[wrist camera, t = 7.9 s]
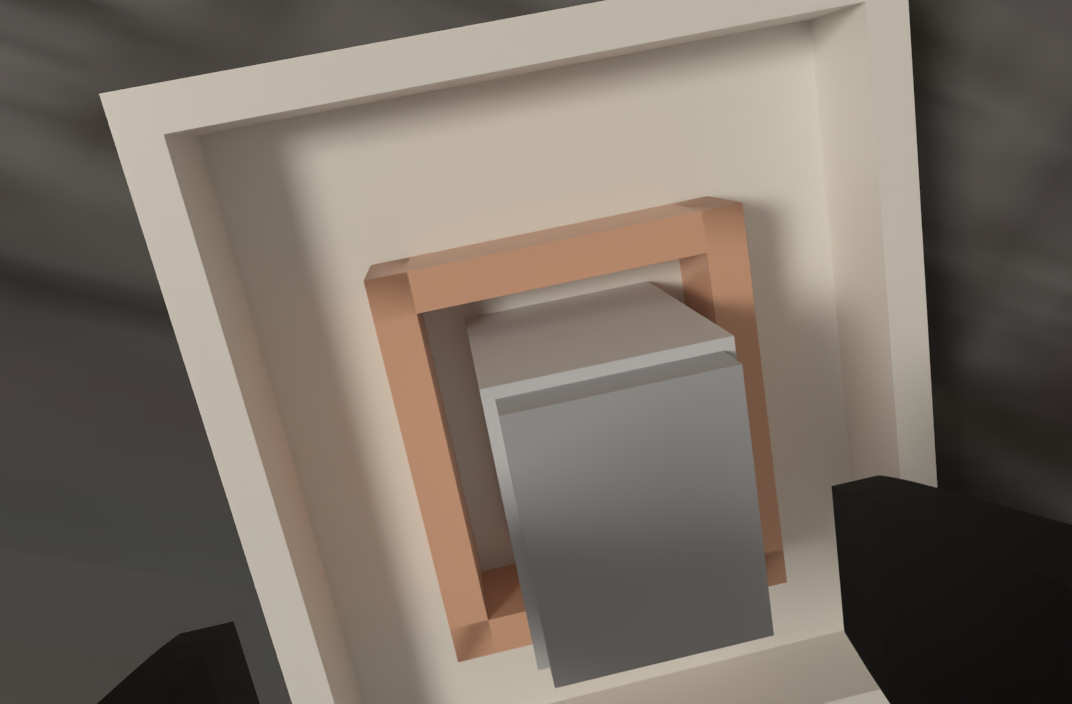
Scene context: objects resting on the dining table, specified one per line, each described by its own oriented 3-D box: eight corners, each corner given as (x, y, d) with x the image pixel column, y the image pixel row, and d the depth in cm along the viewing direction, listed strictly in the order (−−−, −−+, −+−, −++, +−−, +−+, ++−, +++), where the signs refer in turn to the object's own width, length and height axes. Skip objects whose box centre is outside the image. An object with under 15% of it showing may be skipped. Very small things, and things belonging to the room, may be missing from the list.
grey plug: (678, 490, 19) (787, 643, 13) (508, 528, 19) (544, 702, 13) (647, 281, 18) (753, 348, 12) (464, 318, 17) (482, 406, 12)
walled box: (880, 626, 22) (949, 701, 19) (353, 757, 20) (341, 858, 18) (825, -22, 17) (904, -55, 14) (157, 103, 16) (99, 94, 13)
